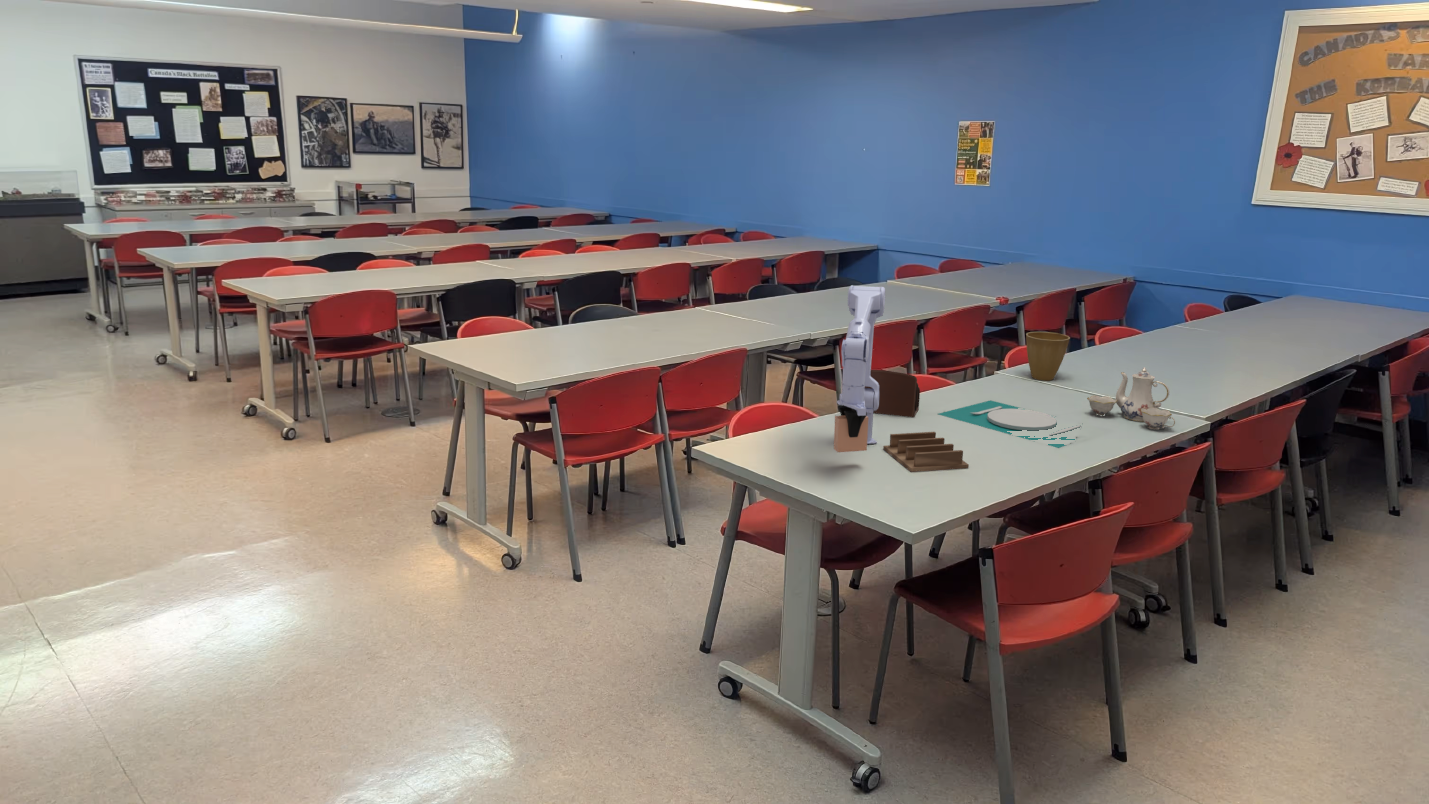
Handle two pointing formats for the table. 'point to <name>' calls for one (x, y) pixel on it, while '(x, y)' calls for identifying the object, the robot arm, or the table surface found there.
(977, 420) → the place mat
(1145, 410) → the chinaware
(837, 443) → the orange-brown angular block
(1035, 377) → the plant pot
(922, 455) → the dish rack
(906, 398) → the letter holder
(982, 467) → the table surface
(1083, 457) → the table surface
